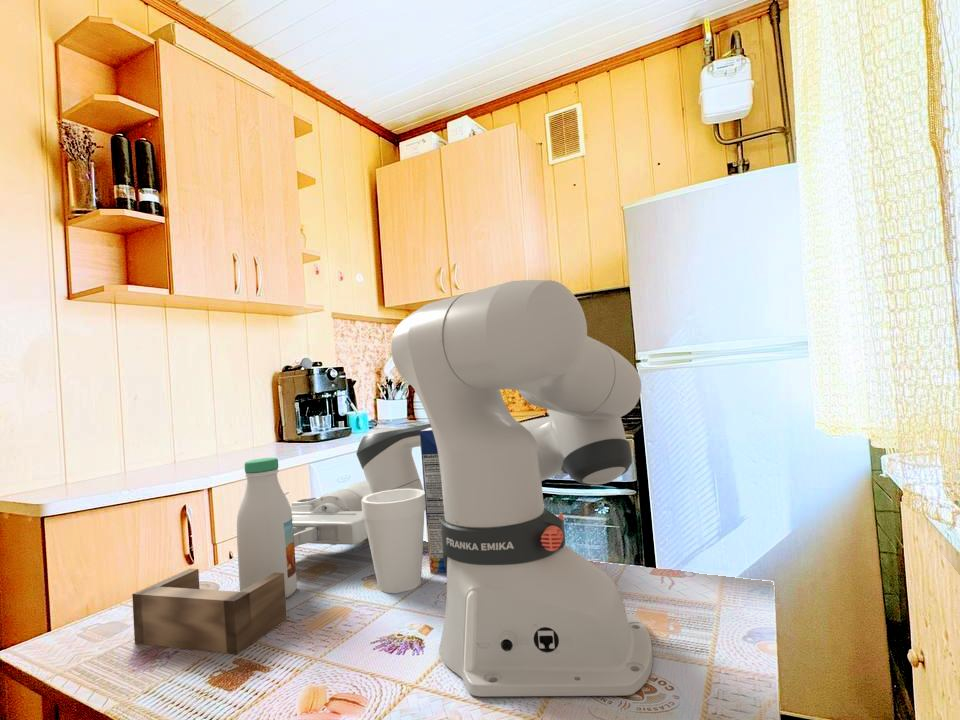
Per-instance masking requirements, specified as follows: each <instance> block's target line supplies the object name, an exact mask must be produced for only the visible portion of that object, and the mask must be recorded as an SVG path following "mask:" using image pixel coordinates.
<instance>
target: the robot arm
mask: <svg viewBox="0 0 960 720" xmlns="http://www.w3.org/2000/svg"><path fill="white" fill-rule="evenodd" d="M390 351H391V357H392V361H393V364H394V366H395V369H396V370H397V372H398V373H399V375H400V376H401V377H402V378H403V379H404V381H406V382H407V383H408V384H409V385H410V386H411V387H412V388H413V390H414V391H415V393H416V395H417V396H418V399H419V400H420V402H421V405H422V407H423V409H424V412H425V415H426V417H427V419H428V422H429V424H428V423H427V424H422V425H415V426H411V427H404V428H402V427H401V428H400V427H396V428H395V427H385V428H380V429H376V430H373V431H371V432H369V433H367V434H366V435H364V436H363V437H362V438H361V441H360V442H359V445H358V447H357V451H356V452H355V454H356V457H357V459H358V462H359V464H360V468H361V469H362V470H363V474H364V476H365V477H364V478H365V480H364V481H359V482H356V483H353V484H351V485H350V486H347V487H346V488H342V489H338V490H336V491H334V492H333V491H332V492H330V493H326V494H324V495H323V494H322V495H321V496H319V497H310V498H303V499H297V500H294V501H293V502H291V506H290V508H291V512H292V520H293V532H294V546H295V548H296V547H298V546H300V545H307V544H310V545H311V544H315V545H318V544H319V545H320V544H321V545H331V546H332V545H333V546H334V545H348V546H351V545H352V546H353V545H356V544H360V543H362V542H364V541H365V540H366V539H368V535H367V530H366V525H365V520H364V517H362V503H361V500H362V499H363V497H365V496H368V495H370V494H373V493H377V492H381V491H387V490H394V489H420V490H423V491H424V486H423V484H422V480H421V478H420V475H419V473H418V469H417V467H416V463H415V460H414V457H413V454H412V452H413V448H419V447H421V441H420V431H422V430H425V429H428V428H432V431H433V434H434V438H435V442H436V446H437V450H438V456H439V464H440V473H441V483H442V494H443V505H444V516H443V517H442V519H441V531H442V533H441V542H442V552H443V558H444V565H445V567H446V568H447V573H446V593H445V594H446V597H445V612H444V621H443V626H442V632H441V633H442V634H441V637H440V639H441V640H440V644H439V649H438V651H439V656H440V659H441V660H442V662H443V663H444V665H445V666H446V667H447V668H448V669H450V670H451V671H453V672H454V673H455V674H457V675H458V676H459V677H461V679H462V681H463V683H464V686H465V689H466V690H467V691H468V692H469V694H470V695H472V696H474V697H585V696H586V697H591V696H592V697H594V696H595V697H597V696H598V697H601V696H603V697H604V696H607V697H608V696H610V697H611V696H612V697H613V696H630V695H634V694H635V693H637V692H638V691H640V689H642V688H643V686H644V685H645V684H646V683H647V681H648V679H649V677H650V676H651V673H652V670H653V669H652V668H653V664H654V663H653V662H654V653H653V651H654V650H653V646H652V641H651V640H652V639H651V635H650V633H649V630H648V628H647V627H646V625H645V624H644V623H643V621H642V620H641V619H639V618H638V617H637V616H636V615H634V614H632V613H627V611H626V608H625V604H624V601H623V598H622V595H621V592H620V590H619V588H618V585H617V583H616V582H615V580H614V579H613V578H612V577H611V575H610V574H608V573H607V572H606V571H604V570H602V569H601V568H600V567H598V566H597V565H595V563H592V562H591V561H589V560H588V559H586V558H585V557H584V556H583V555H581V554H579V552H577V551H575V550H574V549H572V548H571V547H569V546H568V545H567V544H566V532H565V531H566V530H565V526H564V525H565V521H564V514H563V513H562V512H560V513H559V515H556V514H554V513H553V512H551V511H550V510H548V509H547V508H545V505H544V495H543V486H542V485H543V484H542V482H543V481H545V480H548V479H551V478H553V477H555V476H559V475H560V474H562V473H563V474H566V475H568V476H569V478H571V479H572V480H574V481H576V482H578V483H580V484H581V485H603V484H604V485H605V484H607V483H610V482H613V481H615V480H617V479H618V478H619V477H620V476H623V475H624V474H625V473H627V471H628V470H629V469H630V467H631V466H632V464H633V455H632V447H631V445H630V442H629V440H627V436H626V432H625V428H624V424H623V421H622V417H623V416H626V415H628V413H631V411H632V410H634V408H635V406H636V405H637V404H638V402H639V400H640V398H641V393H642V380H641V377H640V374H639V372H638V371H637V368H636V367H635V366H634V365H633V364H632V363H631V362H630V361H629V360H628V359H627V358H625V356H623V355H622V354H621V353H619V352H618V351H617V350H615V349H614V348H612V347H610V346H609V345H607V344H605V343H603V342H601V341H599V340H597V339H594V338H592V337H590V336H589V335H588V325H587V319H586V316H585V313H584V310H583V308H582V305H581V303H580V302H579V300H578V299H577V297H576V296H575V295H574V294H573V292H572V291H571V290H570V289H569V287H567V286H566V285H564V284H563V283H561V282H559V281H556V280H549V279H548V280H547V279H545V280H544V279H542V280H541V279H539V280H536V279H535V280H533V279H531V280H530V279H528V280H511V281H507V282H503V283H500V284H499V283H498V284H496V285H493V286H490V287H486V288H481V289H478V290H475V291H471V292H465V293H462V294H458V295H454V296H451V297H447V298H444V299H439V300H436V301H432V302H429V303H427V304H425V305H422V306H421V307H419V308H418V309H417V310H415V311H413V312H412V313H410V314H409V315H408V316H406V317H405V318H403V319H402V320H401V321H400V322H399V323H398V325H397V326H396V327H395V330H394V332H393V334H392V338H391V350H390ZM501 390H513V391H518V392H519V394H520V396H521V397H522V398H523V399H524V400H525V401H526V402H527V403H529V404H530V405H532V406H533V407H538V408H541V409H545V410H547V412H548V416H542V417H539V418H533V419H530V420H527V421H522V422H518V421H517V420H516V419H515V418H514V417H513V415H512V413H511V412H510V411H509V409H508V407H507V405H506V402H505V400H504V398H503V395H502V392H501Z"/></svg>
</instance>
